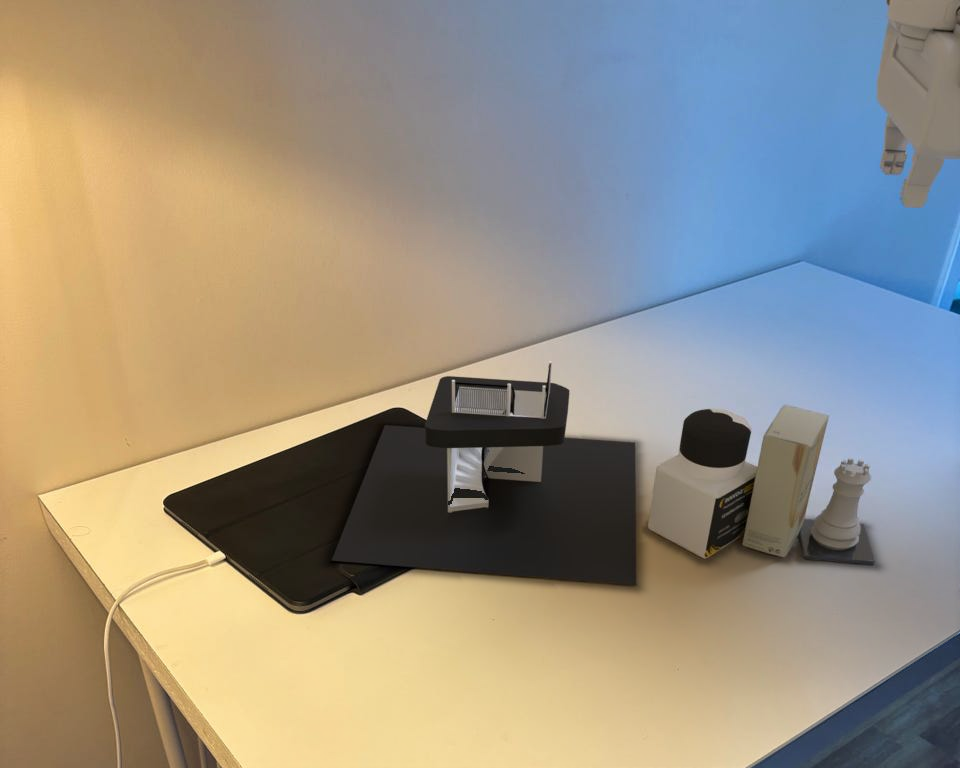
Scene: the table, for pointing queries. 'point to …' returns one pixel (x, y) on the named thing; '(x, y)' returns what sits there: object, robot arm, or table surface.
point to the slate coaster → (815, 551)
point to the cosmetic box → (784, 479)
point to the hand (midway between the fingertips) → (899, 188)
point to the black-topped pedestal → (497, 490)
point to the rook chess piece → (842, 508)
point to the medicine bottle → (705, 484)
